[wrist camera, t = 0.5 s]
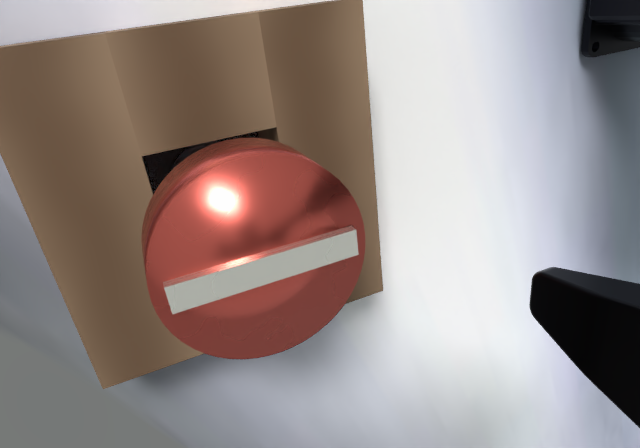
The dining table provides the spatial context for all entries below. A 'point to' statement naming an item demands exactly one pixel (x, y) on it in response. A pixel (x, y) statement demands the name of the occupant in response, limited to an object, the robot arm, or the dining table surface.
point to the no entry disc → (250, 247)
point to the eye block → (172, 145)
